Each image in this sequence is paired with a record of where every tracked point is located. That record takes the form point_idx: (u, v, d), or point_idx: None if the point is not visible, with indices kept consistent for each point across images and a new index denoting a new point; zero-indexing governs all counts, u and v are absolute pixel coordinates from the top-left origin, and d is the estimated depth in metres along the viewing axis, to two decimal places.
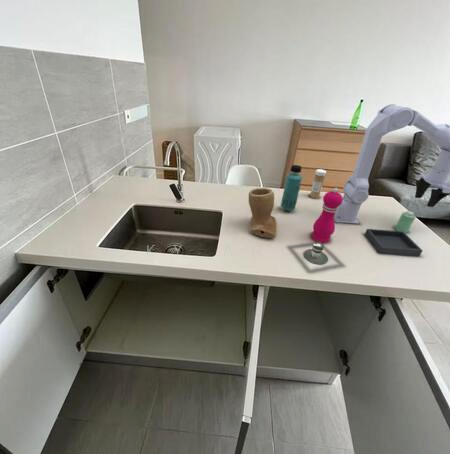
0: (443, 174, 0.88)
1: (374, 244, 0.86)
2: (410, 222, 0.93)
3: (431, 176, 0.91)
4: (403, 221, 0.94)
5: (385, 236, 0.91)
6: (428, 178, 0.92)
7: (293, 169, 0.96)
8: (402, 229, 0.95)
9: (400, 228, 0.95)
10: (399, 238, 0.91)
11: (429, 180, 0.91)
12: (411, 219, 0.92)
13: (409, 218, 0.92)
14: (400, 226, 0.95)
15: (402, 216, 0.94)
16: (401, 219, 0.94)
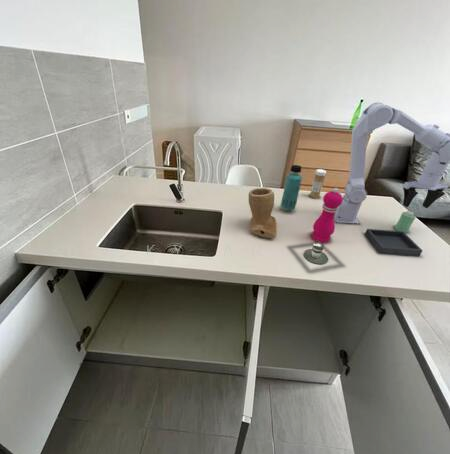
0: (422, 174, 0.87)
1: (374, 244, 0.86)
2: (410, 222, 0.93)
3: None
4: (403, 221, 0.94)
5: (385, 236, 0.91)
6: None
7: (293, 169, 0.96)
8: (402, 229, 0.95)
9: (400, 228, 0.95)
10: (399, 238, 0.91)
11: None
12: (411, 219, 0.92)
13: (409, 218, 0.92)
14: (400, 226, 0.95)
15: (402, 216, 0.94)
16: (401, 219, 0.94)
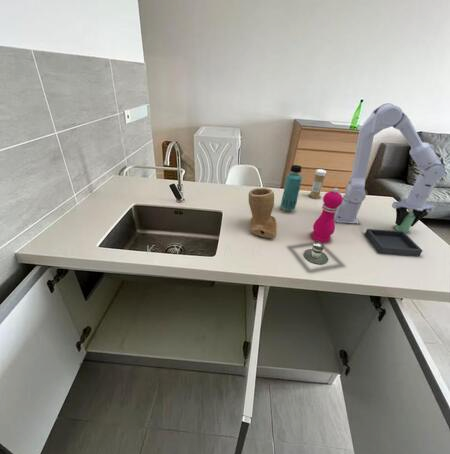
0: (410, 195, 0.90)
1: (374, 244, 0.86)
2: (410, 222, 0.93)
3: None
4: (403, 221, 0.94)
5: (385, 236, 0.91)
6: None
7: (293, 169, 0.96)
8: (402, 229, 0.95)
9: (400, 228, 0.95)
10: (399, 238, 0.91)
11: None
12: (411, 219, 0.92)
13: (409, 218, 0.92)
14: (400, 226, 0.95)
15: None
16: None
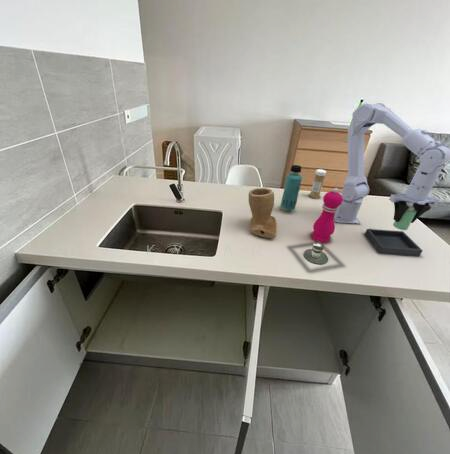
0: (410, 186, 0.78)
1: (374, 244, 0.86)
2: (410, 218, 0.81)
3: None
4: (403, 216, 0.82)
5: (385, 236, 0.91)
6: None
7: (293, 169, 0.96)
8: (401, 226, 0.83)
9: (399, 224, 0.84)
10: (399, 238, 0.91)
11: None
12: (411, 214, 0.80)
13: (409, 214, 0.81)
14: (399, 223, 0.84)
15: None
16: None
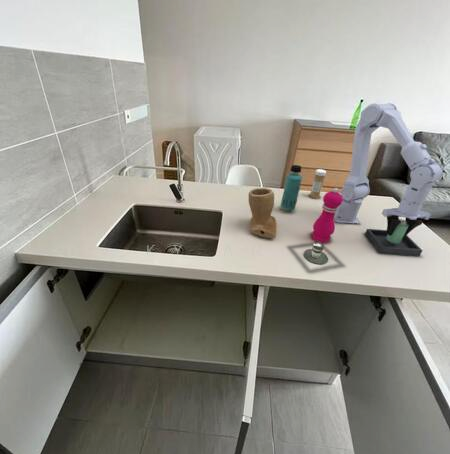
0: (402, 201, 0.80)
1: (374, 244, 0.86)
2: (403, 232, 0.83)
3: None
4: (395, 230, 0.83)
5: (385, 236, 0.91)
6: None
7: (293, 169, 0.96)
8: (393, 240, 0.85)
9: (391, 238, 0.85)
10: None
11: None
12: (404, 228, 0.82)
13: (401, 228, 0.82)
14: (391, 237, 0.85)
15: None
16: None
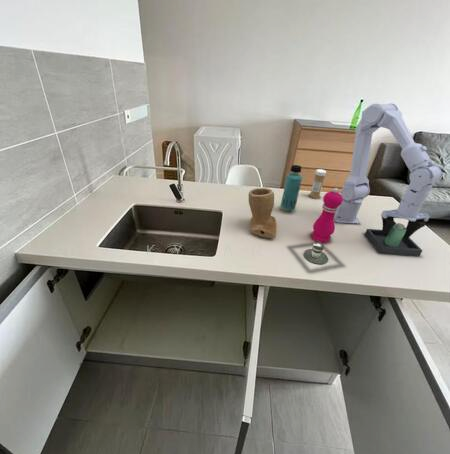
0: (401, 203, 0.80)
1: (374, 244, 0.86)
2: (401, 236, 0.83)
3: None
4: (393, 234, 0.84)
5: None
6: None
7: (293, 169, 0.96)
8: (391, 243, 0.86)
9: (390, 242, 0.86)
10: None
11: None
12: (402, 232, 0.83)
13: (399, 232, 0.83)
14: (389, 240, 0.86)
15: (392, 229, 0.85)
16: (391, 232, 0.85)
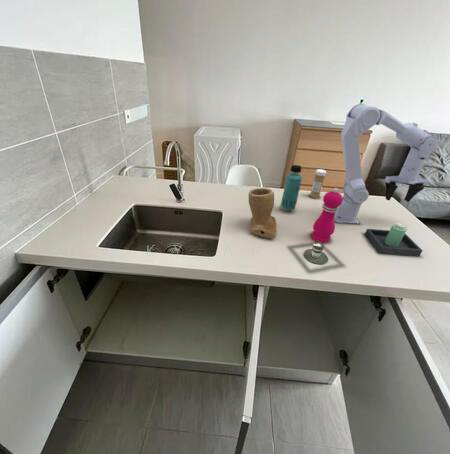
0: (402, 169, 0.92)
1: (374, 244, 0.86)
2: (401, 236, 0.83)
3: None
4: (393, 234, 0.84)
5: (385, 236, 0.91)
6: None
7: (293, 169, 0.96)
8: (391, 243, 0.86)
9: (390, 242, 0.86)
10: None
11: None
12: (402, 232, 0.83)
13: (399, 232, 0.83)
14: (389, 240, 0.86)
15: (392, 229, 0.85)
16: (391, 232, 0.85)
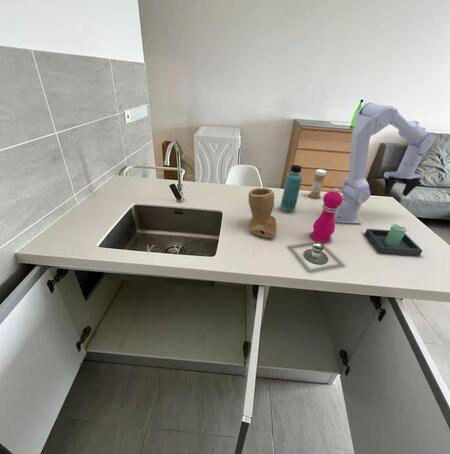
0: (400, 164, 0.96)
1: (374, 244, 0.86)
2: (401, 236, 0.83)
3: None
4: (393, 234, 0.84)
5: (385, 236, 0.91)
6: None
7: (293, 169, 0.96)
8: (391, 243, 0.86)
9: (390, 242, 0.86)
10: None
11: None
12: (402, 232, 0.83)
13: (399, 232, 0.83)
14: (389, 240, 0.86)
15: (392, 229, 0.85)
16: (391, 232, 0.85)
